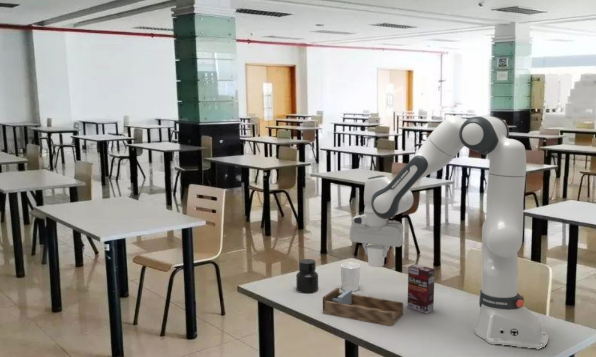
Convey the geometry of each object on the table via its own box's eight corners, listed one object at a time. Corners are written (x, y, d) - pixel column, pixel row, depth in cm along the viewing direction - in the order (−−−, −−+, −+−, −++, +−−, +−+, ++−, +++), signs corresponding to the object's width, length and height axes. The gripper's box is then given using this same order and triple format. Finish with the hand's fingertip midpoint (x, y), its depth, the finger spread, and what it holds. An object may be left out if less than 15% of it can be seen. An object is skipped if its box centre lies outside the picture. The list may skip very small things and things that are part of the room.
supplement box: (406, 308, 216) (407, 266, 214) (413, 304, 220) (414, 263, 217) (427, 314, 210) (428, 271, 208) (434, 310, 214) (435, 268, 211)
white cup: (363, 288, 239) (363, 264, 238) (354, 293, 233) (354, 269, 231) (346, 284, 243) (346, 261, 242) (337, 290, 237) (337, 266, 235)
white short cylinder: (384, 267, 214) (384, 249, 213) (365, 266, 216) (365, 248, 215) (386, 262, 221) (386, 244, 220) (367, 261, 222) (368, 243, 222)
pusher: (351, 303, 218) (351, 290, 217) (341, 311, 210) (341, 297, 209) (338, 301, 220) (338, 287, 220) (327, 308, 213) (327, 295, 212)
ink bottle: (319, 286, 241) (319, 258, 240) (318, 293, 233) (318, 264, 231) (296, 286, 242) (296, 258, 241) (294, 293, 234) (294, 264, 232)
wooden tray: (402, 314, 210) (403, 298, 209) (391, 326, 199) (391, 309, 199) (336, 302, 222) (336, 287, 222) (322, 313, 212) (322, 297, 211)
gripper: (406, 220, 214) (405, 256, 216) (354, 215, 224) (354, 250, 226) (400, 223, 208) (399, 261, 210) (347, 218, 218) (347, 254, 220)
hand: (376, 255), depth 218 cm, fingers closed on white short cylinder, 5 cm apart
